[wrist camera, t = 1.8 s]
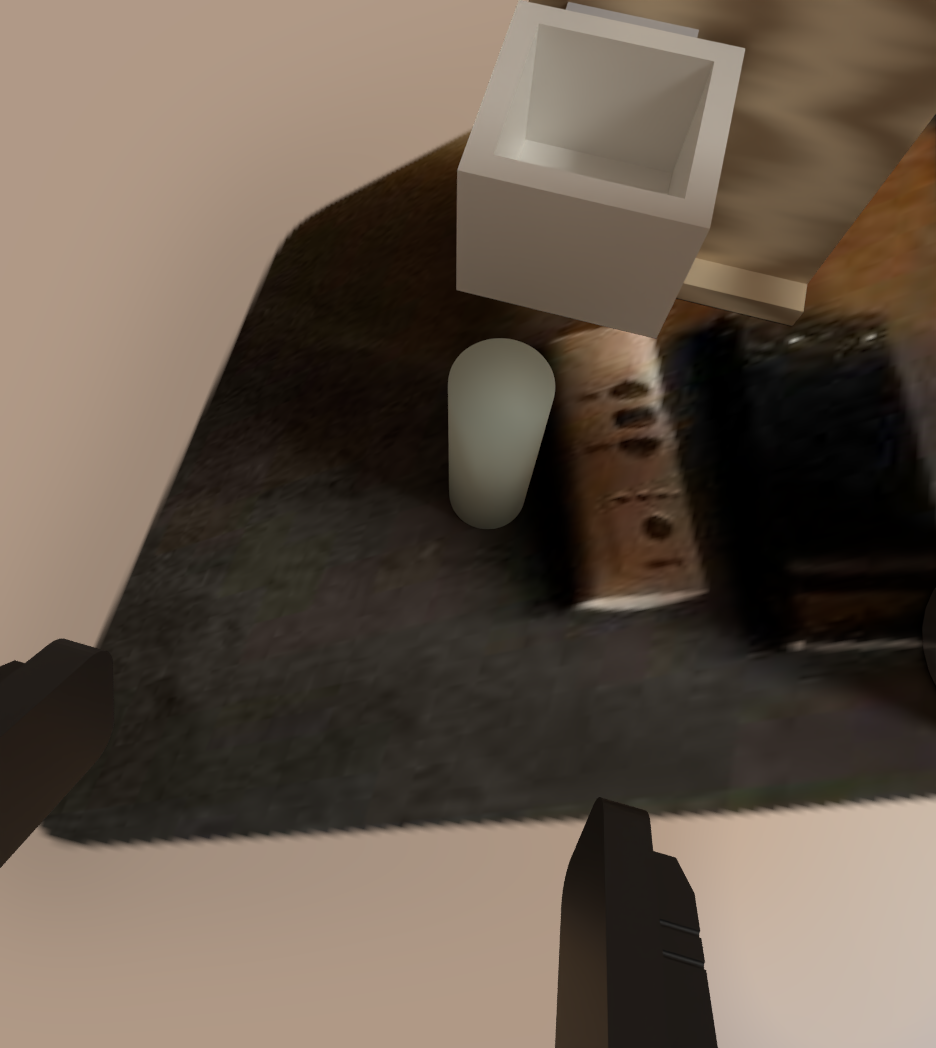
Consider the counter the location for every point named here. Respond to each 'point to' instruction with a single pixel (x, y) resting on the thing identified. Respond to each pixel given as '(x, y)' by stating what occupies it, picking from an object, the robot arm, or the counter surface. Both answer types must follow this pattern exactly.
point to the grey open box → (594, 165)
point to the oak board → (801, 133)
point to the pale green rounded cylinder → (495, 428)
